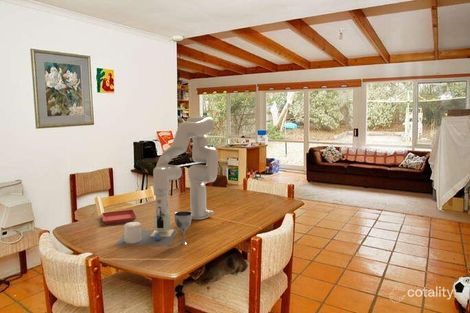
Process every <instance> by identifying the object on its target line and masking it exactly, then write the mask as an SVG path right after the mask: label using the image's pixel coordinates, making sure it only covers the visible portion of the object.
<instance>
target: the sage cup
mask: <svg viewBox="0 0 470 313" xmlns="http://www.w3.org/2000/svg"><path fill="white" fill-rule="evenodd" d="M160 214H162V213H160ZM161 217H162V216H161ZM163 221H164V227H163V228H157V215H156V213H154V216H153V228H154V229H153V230H155V231H157V232H165V231H168V230H169V229H171V215H170V212H167V214H166V215H164V214H163Z"/></svg>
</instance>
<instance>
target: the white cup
mask: <svg viewBox="0 0 470 313" xmlns="http://www.w3.org/2000/svg"><path fill="white" fill-rule="evenodd" d="M141 230H142V223H140V222H138V221H133V222H126V223H125V224H124V226H123V235H124V242H126V243H136V242H140V241H141V239H142V232H141Z"/></svg>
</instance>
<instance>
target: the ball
mask: <svg viewBox="0 0 470 313" xmlns="http://www.w3.org/2000/svg"><path fill="white" fill-rule="evenodd" d="M154 238H155V240H157V241H159V240H160V239H161V235H160V234H156V235H155V236H154Z"/></svg>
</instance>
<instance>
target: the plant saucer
mask: <svg viewBox="0 0 470 313" xmlns="http://www.w3.org/2000/svg"><path fill="white" fill-rule="evenodd" d="M101 216H102V222H103V223H104V224H105V225H116V224H124V223H125V224H126V223H129V222H135V220H136V219H137V215H136V213H135V211H134V209H125V210H117V211H116V210H115V211H107V212H106V211H105V212H102V213H101Z"/></svg>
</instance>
